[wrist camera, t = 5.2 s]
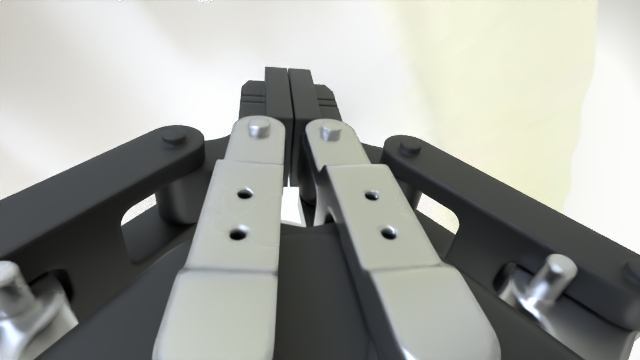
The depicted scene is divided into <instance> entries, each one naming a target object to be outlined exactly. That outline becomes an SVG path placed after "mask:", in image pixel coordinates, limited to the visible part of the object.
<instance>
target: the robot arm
mask: <svg viewBox="0 0 640 360" xmlns="http://www.w3.org/2000/svg"><path fill="white" fill-rule="evenodd" d="M288 177H289V183H290V187H299V195H298V210H299V215H300V220H301V224H302V227H300V226H295V225H289V224H284V223H281V206H282V196H283V188H284V187H288ZM154 193H155V197H156V202H157V204H156V205H154V206H153V207H151V208H149V209H148V210H146V211H145V212H143V213H141V214H140V215H138V216H137V217H135V218H133V219H132V220H130V221H129V222H127V223H126V224H124V225H122V226H121V220H122V218H123V216H124V214H125V213H126V212H127V211H128V210H129V209H130V208H131V207H132V206H134V205H136V204H137V203H139V202H141V201H142V200H144V199H146V198H147V197H149V196H151V195H152V194H154ZM422 193H424V194H425V195H427V196H429V197H430V198H432V199H434V200H435V201H437V202H438V203H440V204H442V205H443V206H445V207H447V208H448V209H450V210H451V211H453V212H454V213H455V215H456V216H457V218H458V220H459V229H458V231H457V233H456V235H455V234H453V233H452V232H450V231H449V230H447V229H446V228H444V227H443V226H441V225H439V224H438V223H436V222H435V221H433V220H432V219H430V218H429V217H427V216H426V215H424V214H422V213H421V212H419V211H418V210H416V208H417V206H418V203H419V200H420V197H421V195H422ZM639 337H640V255H639V254H637V253H635V252H633V251H631V250H629V249H627V248H626V247H623V246H622V245H620V244H618V243H616V242H614V241H612V240H610V239H609V238H607V237H605V236H603V235H601V234H599V233H597V232H595V231H593V230H591V229H590V228H588V227H586V226H584V225H582V224H580V223H578V222H576V221H574V220H572V219H570V218H569V217H567V216H565V215H563V214H561V213H559V212H557V211H556V210H554V209H552V208H550V207H548V206H546V205H544V204H542V203H540V202H539V201H537V200H535V199H533V198H531V197H529V196H527V195H525V194H523V193H521V192H520V191H518V190H516V189H514V188H512V187H510V186H508V185H506V184H504V183H503V182H501V181H499V180H497V179H495V178H493V177H491V176H489V175H487V174H486V173H484V172H482V171H480V170H478V169H476V168H474V167H472V166H470V165H468V164H467V163H465V162H463V161H461V160H459V159H457V158H455V157H453V156H451V155H450V154H448V153H446V152H444V151H442V150H440V149H438V148H436V147H434V146H433V145H431V144H429V143H427V142H425V141H423V140H421V139H418V138H416V137H412V136H407V135H395V136H391V137H389V138H388V139H386V141H385V143H384V147H383V148H380V147H376V146H371V145H367V144H364V143H361V142H360V141H359V139H358V137H357V135H356V133H355V131H354V129H353V128H352V127H351V126H349V125H348V124H346V123H344V122H342V119H341V116H340V113H339V109H338V107H337V103H336V101H335V97H334V94H333V92H332V91H331V90H330V89H329V88H328V87H326V86H325V85H317V84H313V80H312V76H311V72H310V70H306V69H291V68H288V73H287V68H276V67H265V81H252V80H249V81H248V82H247V83H245V84H244V85H243V86H242V90H241V100H240V110H239V120H238V121H236V122H235V123H234V125H233V128H232V132H231V134H230V135H228V136H226V137H223V138H220V139H215V140H208V141H204V136H203V134H202V133H201V132H200V131H199V130H197V129H195V128H192V127H189V126H182V125H172V126H165V127H161V128H158V129H155V130H153V131H151V132H149V133H147V134H144V135H142V136H140V137H138V138H136V139H133V140H131V141H129V142H127V143H125V144H122V145H120V146H118V147H116V148H114V149H112V150H109V151H107V152H105V153H103V154H101V155H98V156H96V157H94V158H92V159H90V160H87V161H85V162H83V163H81V164H79V165H77V166H74V167H72V168H70V169H68V170H66V171H63V172H61V173H59V174H57V175H55V176H52V177H50V178H48V179H46V180H44V181H42V182H39V183H37V184H35V185H33V186H31V187H28V188H26V189H24V190H22V191H20V192H18V193H15V194H13V195H11V196H9V197H7V198H4V199H2V200H0V360H628V359H629V356H630V353H631V349H632V347H633V344H634V341H635V340H637V339H638V338H639Z"/></svg>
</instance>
